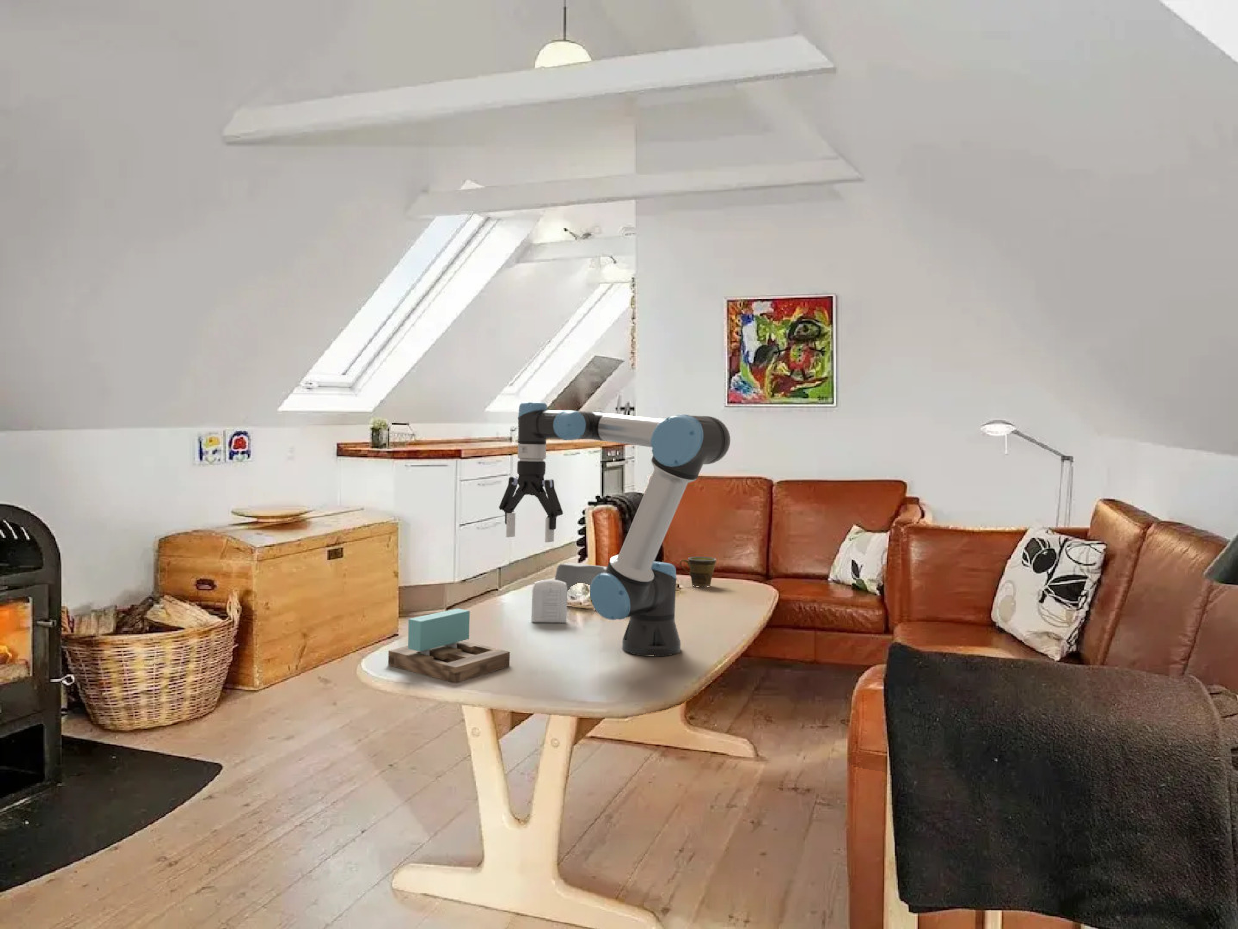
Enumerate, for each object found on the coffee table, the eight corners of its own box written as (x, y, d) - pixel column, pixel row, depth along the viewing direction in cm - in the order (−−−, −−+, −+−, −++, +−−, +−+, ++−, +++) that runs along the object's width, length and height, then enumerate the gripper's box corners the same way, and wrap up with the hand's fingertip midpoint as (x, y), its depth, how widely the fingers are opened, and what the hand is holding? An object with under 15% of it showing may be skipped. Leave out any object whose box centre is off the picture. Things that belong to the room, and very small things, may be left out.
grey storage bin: (641, 605, 293) (642, 567, 292) (618, 614, 278) (619, 573, 278) (574, 596, 304) (575, 559, 304) (549, 604, 290) (550, 565, 289)
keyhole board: (509, 666, 216) (509, 651, 216) (455, 683, 202) (455, 667, 202) (443, 650, 229) (444, 636, 229) (388, 665, 214) (388, 650, 214)
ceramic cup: (715, 584, 334) (716, 557, 333) (714, 589, 324) (715, 561, 323) (680, 582, 335) (681, 555, 335) (678, 587, 325) (679, 559, 325)
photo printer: (566, 620, 268) (567, 578, 267) (567, 623, 263) (568, 581, 263) (531, 620, 266) (532, 578, 266) (531, 623, 262) (532, 581, 261)
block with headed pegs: (468, 658, 223) (469, 610, 222) (419, 671, 210) (420, 621, 209) (456, 655, 225) (457, 608, 224) (407, 668, 212) (408, 619, 211)
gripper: (487, 458, 246) (485, 536, 247) (559, 462, 232) (557, 545, 233) (505, 457, 252) (504, 533, 253) (577, 462, 238) (575, 542, 239)
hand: (529, 539), depth 243 cm, fingers open, 13 cm apart
